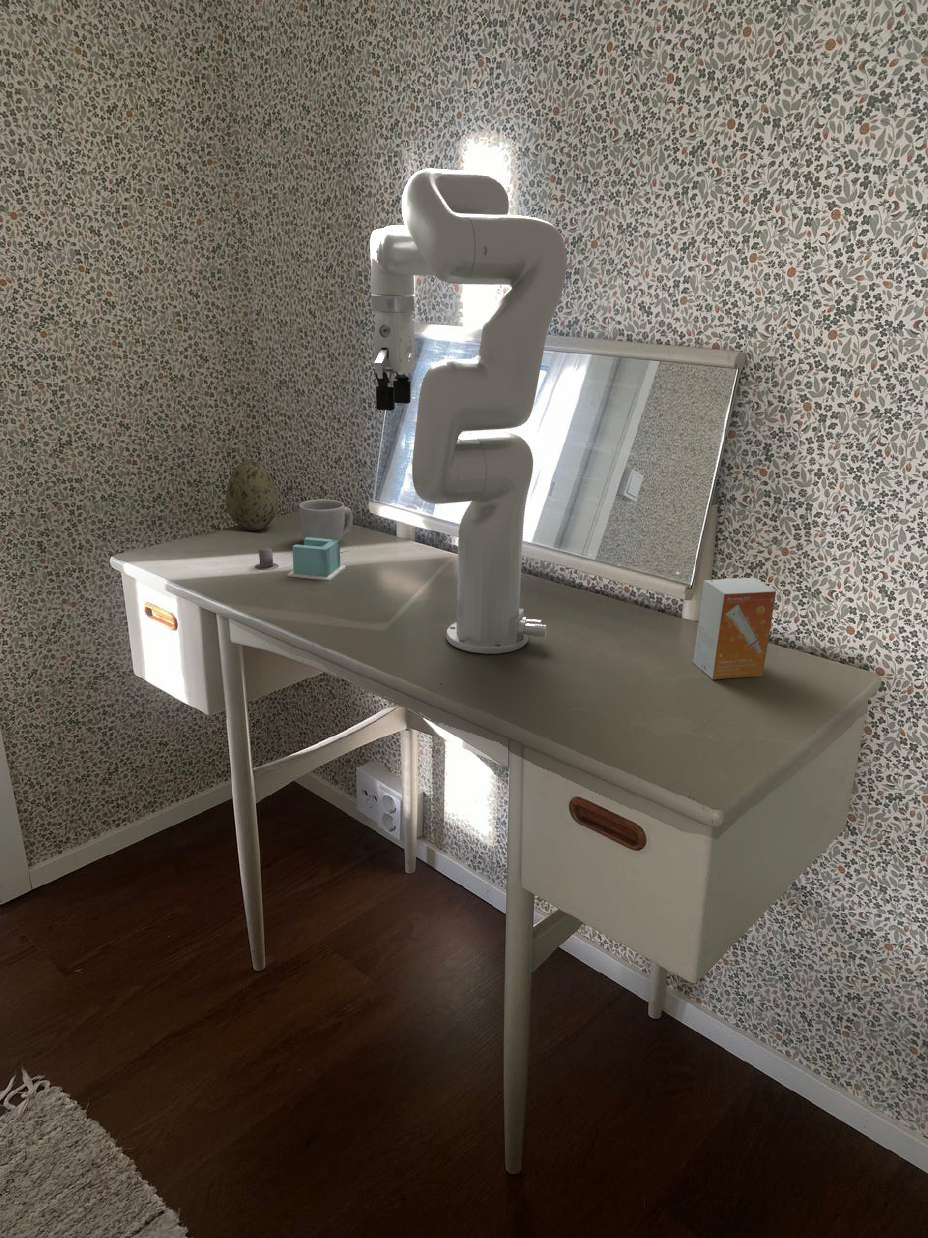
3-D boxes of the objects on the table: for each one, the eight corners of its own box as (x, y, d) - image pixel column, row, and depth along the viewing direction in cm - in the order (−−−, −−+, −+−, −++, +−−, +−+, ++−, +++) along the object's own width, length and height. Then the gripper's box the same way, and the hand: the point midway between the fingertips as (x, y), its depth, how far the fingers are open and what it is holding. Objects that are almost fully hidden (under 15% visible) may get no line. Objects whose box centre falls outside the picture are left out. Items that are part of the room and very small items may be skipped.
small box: (712, 681, 131) (723, 593, 126) (692, 663, 136) (702, 579, 132) (764, 677, 132) (777, 590, 128) (742, 659, 138) (754, 576, 133)
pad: (346, 568, 171) (346, 565, 171) (329, 581, 164) (329, 578, 163) (305, 564, 173) (305, 561, 172) (287, 577, 165) (287, 574, 165)
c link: (340, 566, 170) (339, 540, 168) (327, 576, 164) (326, 549, 163) (307, 563, 172) (306, 537, 170) (293, 573, 166) (292, 546, 164)
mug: (320, 561, 179) (318, 512, 176) (291, 551, 185) (289, 504, 181) (366, 548, 188) (365, 502, 184) (337, 540, 193) (336, 494, 190)
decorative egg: (219, 534, 195) (214, 463, 189) (239, 521, 205) (235, 453, 199) (268, 538, 193) (264, 466, 188) (286, 525, 203) (283, 456, 198)
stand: (355, 572, 173) (354, 548, 171) (330, 592, 162) (330, 566, 160) (256, 562, 177) (255, 538, 176) (226, 581, 167) (224, 555, 165)
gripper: (399, 308, 152) (399, 414, 158) (427, 305, 168) (426, 401, 174) (355, 306, 154) (357, 411, 160) (388, 303, 170) (388, 399, 175)
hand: (393, 406), depth 167 cm, fingers open, 9 cm apart
